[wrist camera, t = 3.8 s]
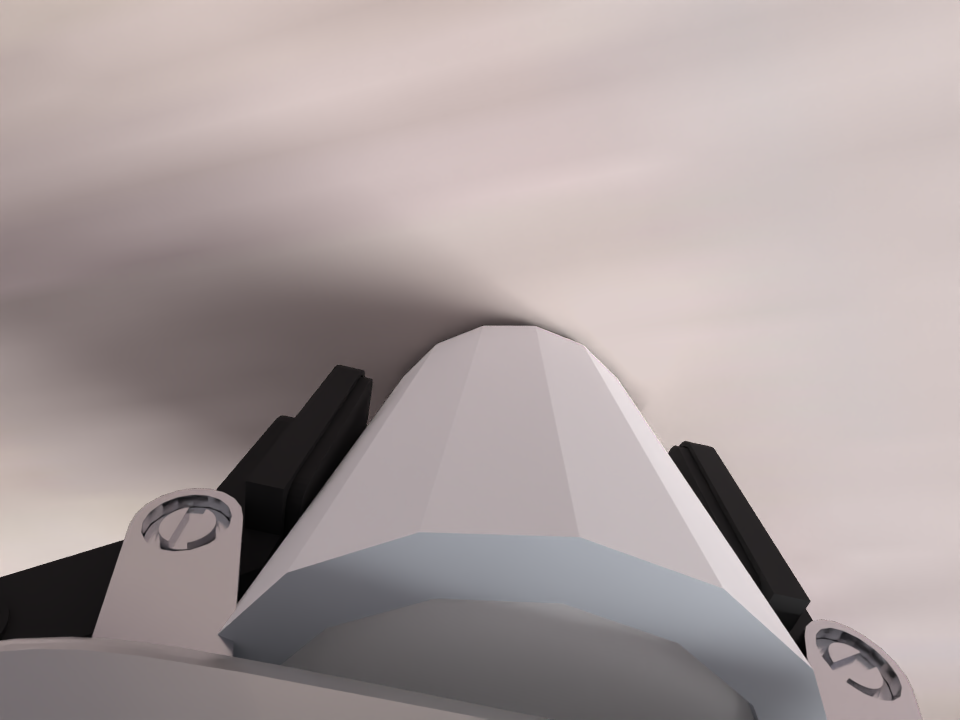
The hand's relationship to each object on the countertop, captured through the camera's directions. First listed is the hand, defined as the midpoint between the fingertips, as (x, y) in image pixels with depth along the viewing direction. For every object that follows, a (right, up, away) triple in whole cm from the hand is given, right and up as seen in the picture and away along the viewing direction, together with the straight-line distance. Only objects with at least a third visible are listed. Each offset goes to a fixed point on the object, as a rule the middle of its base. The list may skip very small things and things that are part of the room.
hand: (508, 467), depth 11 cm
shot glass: (0, +1, +1) cm, 1 cm away
